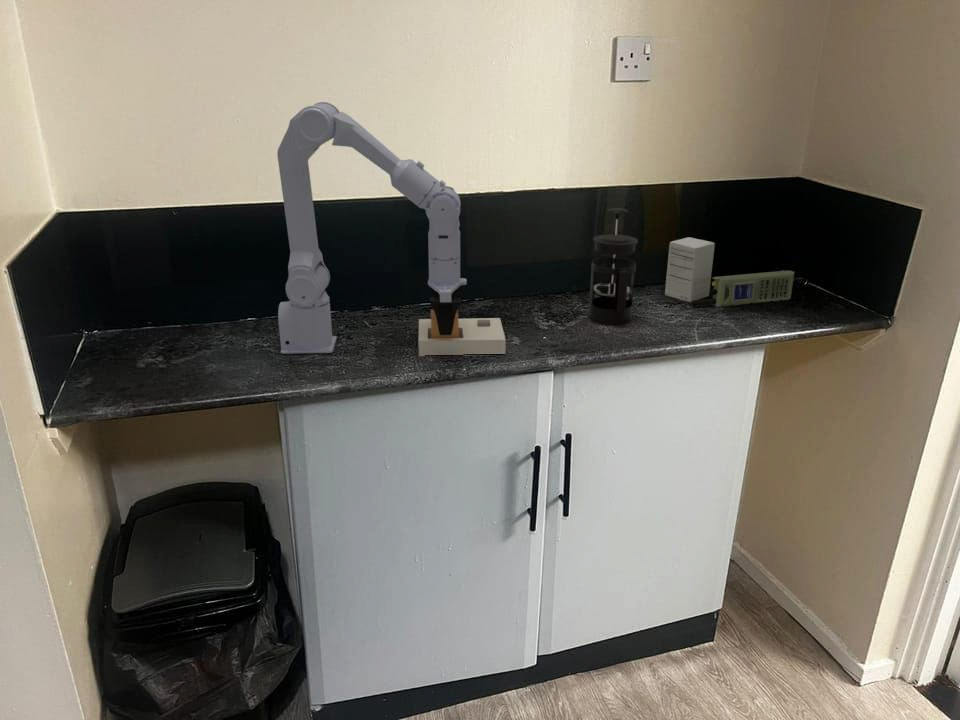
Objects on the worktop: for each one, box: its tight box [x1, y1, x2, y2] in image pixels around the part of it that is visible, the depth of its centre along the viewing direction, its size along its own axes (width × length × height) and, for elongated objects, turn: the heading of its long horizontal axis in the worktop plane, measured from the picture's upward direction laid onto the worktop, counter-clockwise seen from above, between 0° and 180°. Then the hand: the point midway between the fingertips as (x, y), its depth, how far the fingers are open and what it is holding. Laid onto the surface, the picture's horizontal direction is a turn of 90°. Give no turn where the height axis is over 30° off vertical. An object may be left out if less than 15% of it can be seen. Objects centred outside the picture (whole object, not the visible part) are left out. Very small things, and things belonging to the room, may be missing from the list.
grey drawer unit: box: [664, 236, 716, 303], centre depth 175 cm, size 7×7×13 cm
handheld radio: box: [690, 270, 795, 308], centre depth 172 cm, size 7×3×25 cm
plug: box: [430, 309, 459, 339], centre depth 145 cm, size 5×4×7 cm
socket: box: [418, 317, 507, 357], centre depth 148 cm, size 16×12×4 cm
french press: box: [587, 207, 639, 326], centre depth 158 cm, size 12×9×23 cm
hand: (445, 327), depth 145 cm, fingers open, 7 cm apart
